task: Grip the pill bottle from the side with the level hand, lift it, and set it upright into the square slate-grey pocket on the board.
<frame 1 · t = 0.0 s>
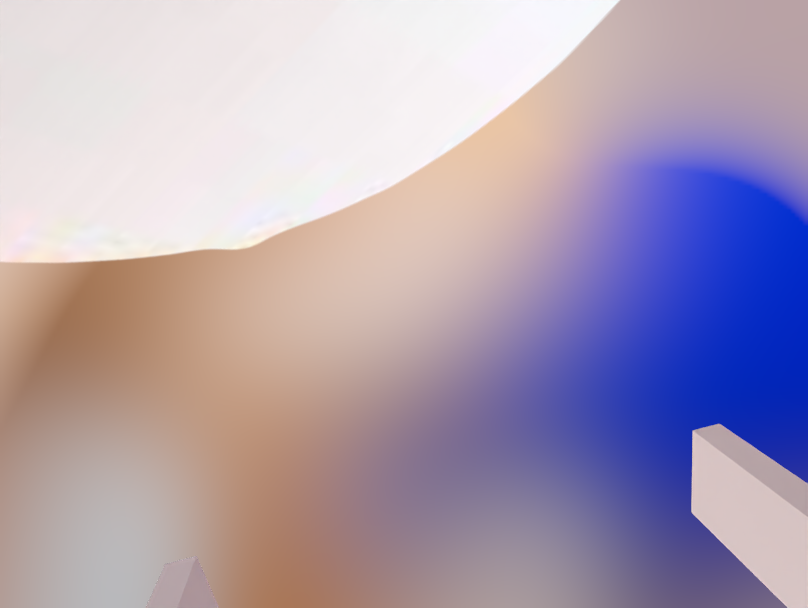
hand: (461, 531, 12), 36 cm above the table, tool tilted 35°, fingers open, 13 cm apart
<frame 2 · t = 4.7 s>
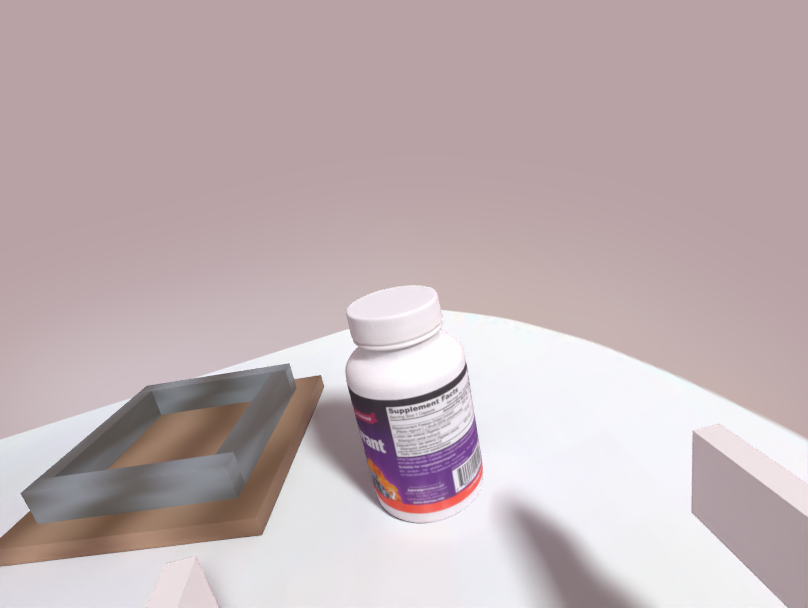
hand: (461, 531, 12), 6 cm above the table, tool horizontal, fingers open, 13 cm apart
pill bottle: (430, 487, 22), on the table
trough board: (194, 457, 28), on the table
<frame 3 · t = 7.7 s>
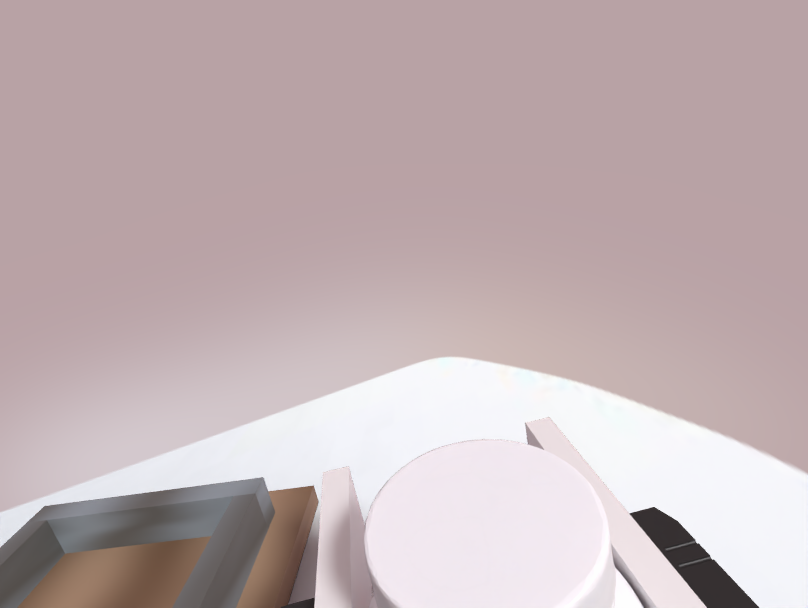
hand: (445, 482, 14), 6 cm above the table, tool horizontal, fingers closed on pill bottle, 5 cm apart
when the fingers open (8 cm above the table, at t = 12.8 s): pill bottle drops 1 cm, resting on trough board.
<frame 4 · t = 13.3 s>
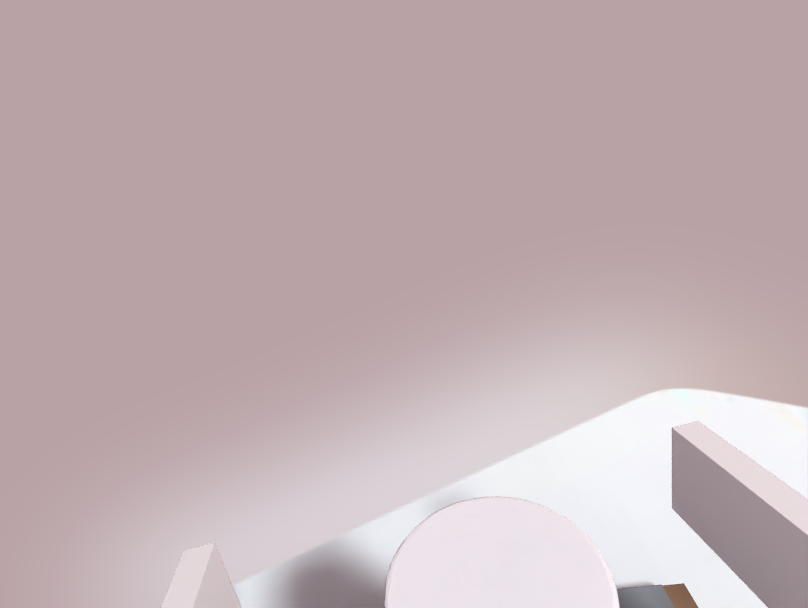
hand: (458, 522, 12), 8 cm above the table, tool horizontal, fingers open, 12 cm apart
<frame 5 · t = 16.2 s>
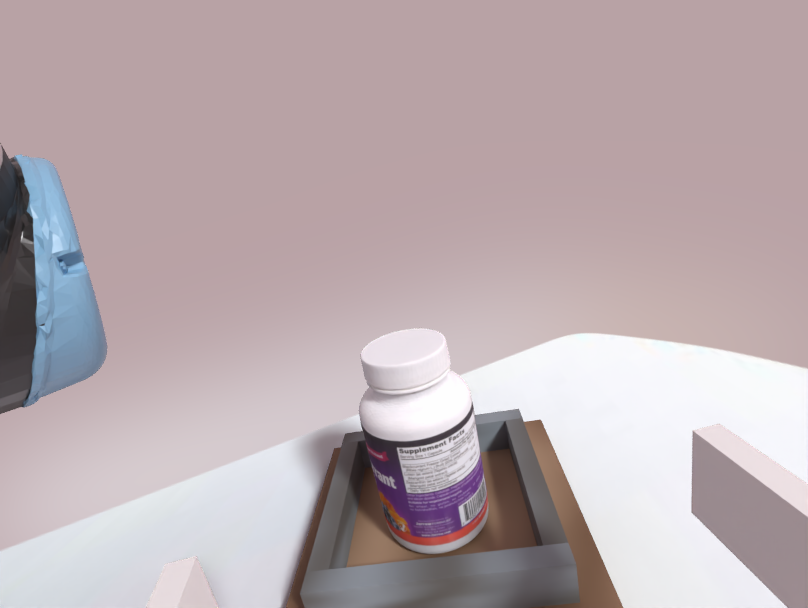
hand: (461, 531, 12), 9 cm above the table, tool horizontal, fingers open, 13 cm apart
pill bottle: (438, 517, 23), point 1 cm above the table, touching trough board
trough board: (441, 528, 24), on the table
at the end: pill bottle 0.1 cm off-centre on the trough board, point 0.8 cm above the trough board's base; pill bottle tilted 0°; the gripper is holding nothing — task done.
